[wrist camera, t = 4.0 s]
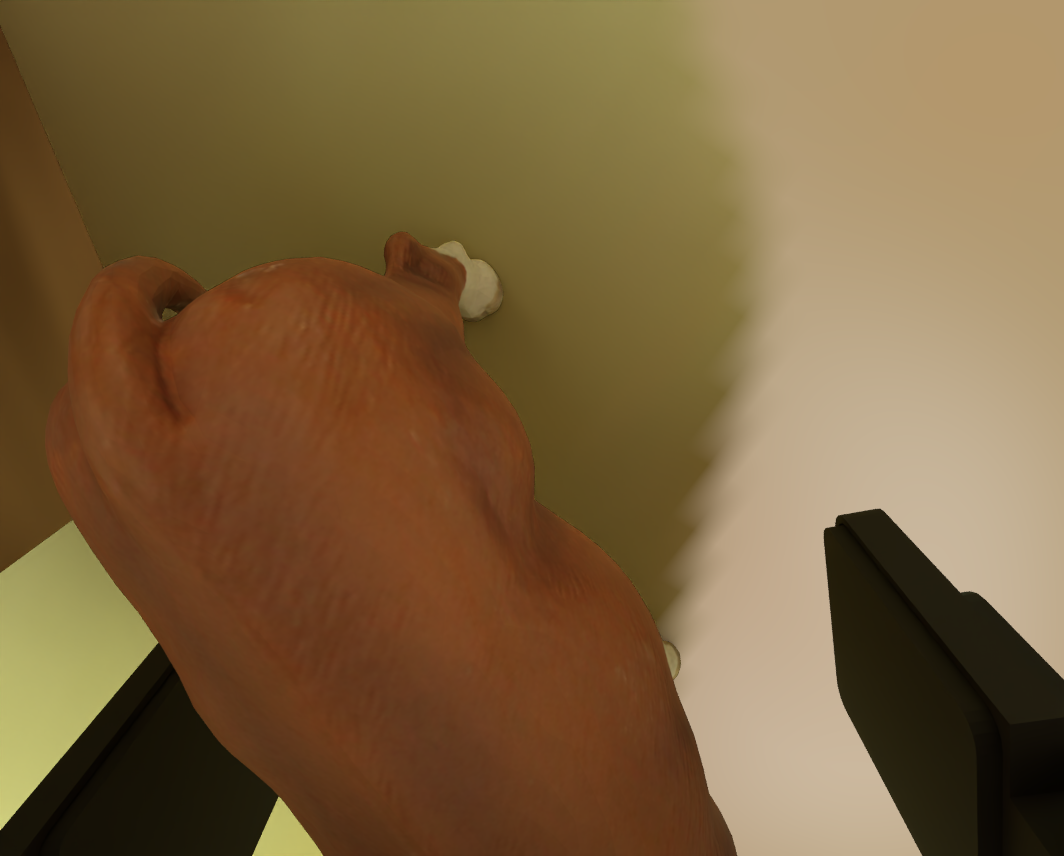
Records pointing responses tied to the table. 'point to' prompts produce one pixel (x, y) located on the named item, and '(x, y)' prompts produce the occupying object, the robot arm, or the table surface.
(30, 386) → the wooden block
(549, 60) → the table surface
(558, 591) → the bull figurine
